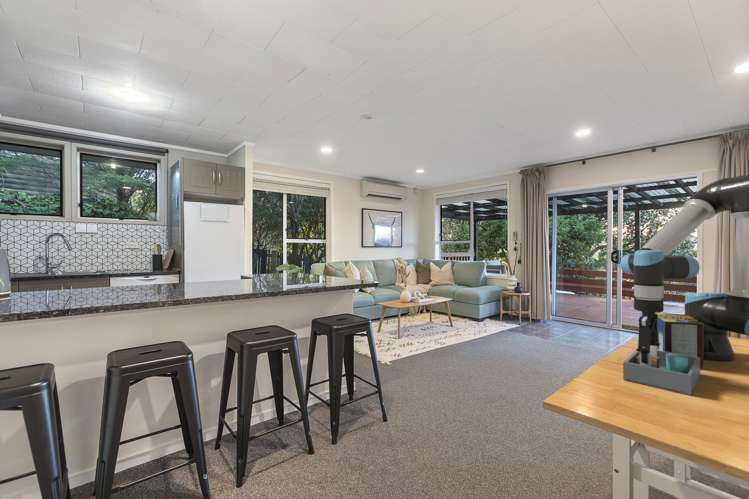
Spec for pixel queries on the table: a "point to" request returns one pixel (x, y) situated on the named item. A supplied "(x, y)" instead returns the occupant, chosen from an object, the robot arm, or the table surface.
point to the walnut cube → (653, 361)
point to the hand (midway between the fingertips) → (648, 368)
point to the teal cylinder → (677, 363)
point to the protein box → (680, 335)
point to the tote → (662, 374)
